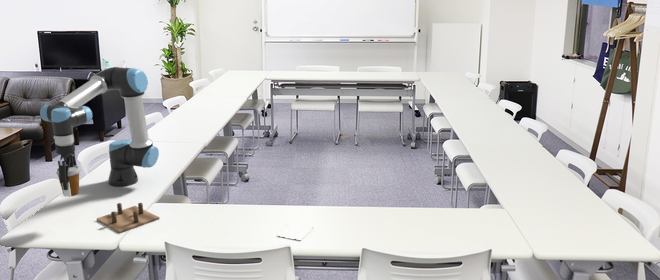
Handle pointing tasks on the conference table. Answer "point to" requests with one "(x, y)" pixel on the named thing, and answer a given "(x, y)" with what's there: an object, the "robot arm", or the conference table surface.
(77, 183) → the disposable coffee cup
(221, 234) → the conference table surface
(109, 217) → the holder
